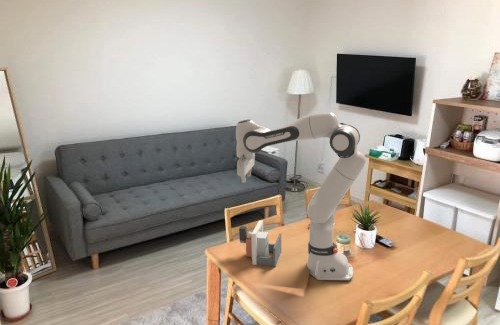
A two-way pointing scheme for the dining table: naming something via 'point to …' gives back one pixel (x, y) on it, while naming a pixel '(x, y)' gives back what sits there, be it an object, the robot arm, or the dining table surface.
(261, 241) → the supplement box
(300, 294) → the dining table surface
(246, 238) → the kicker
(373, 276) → the dining table surface
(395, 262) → the dining table surface
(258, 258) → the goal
